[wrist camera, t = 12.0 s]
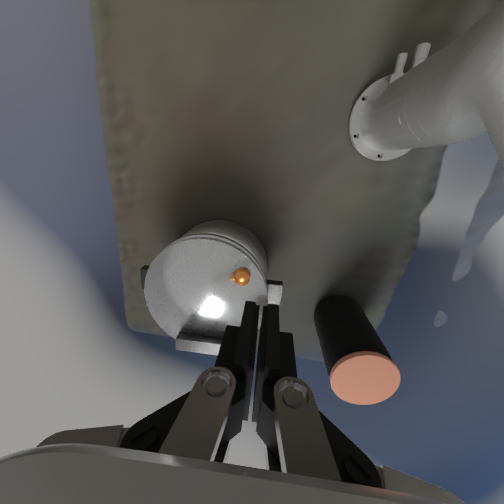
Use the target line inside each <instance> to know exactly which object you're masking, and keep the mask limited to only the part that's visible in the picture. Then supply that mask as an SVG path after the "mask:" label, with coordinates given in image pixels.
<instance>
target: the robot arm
mask: <svg viewBox="0 0 504 504" xmlns="http://www.w3.org/2000/svg"><path fill="white" fill-rule="evenodd" d="M430 47H431V44H430V43H421V44H418V45H416V47H415V50H414V54H413V58H412V64H411V68H410V70H409V71H408V72H406V73H403V70H404V66H405V64H406V61H407V57H408V53H400V54H398V55H397V59H396V63H395V69H394V73H392V74H391V75H389V76H386V77H383V78H381V79H379V80H377V81H375V82H374V83H372V84H371V85H370V86H369V87H367V88H366V89H365V90H364V91H363V92H362V94H361V95H360V96H359V97H358V99H357V100H356V102H355V104H354V106H353V108H352V111H351V113H350V118H349V127H348V130H349V137H350V140H351V142H352V145H353V146H354V148H355V149H356V150H357V151H358V152H359V154H361V155H362V156H364V157H365V158H368V159H370V160H375V161H387V160H392V159H395V158H398V157H400V156H402V155H404V154H406V153H407V152H408V151H410V150H411V149H412V148H422V147H431V146H441V145H449V144H456V143H460V142H464V141H467V140H469V139H472V138H474V137H477V136H479V135H481V134H482V133H484V132H485V131H487V133H488V135H489V137H490V140H491V142H492V144H493V145H494V147H495V149H496V152H497V154H498V157H499V159H500V162H501V164H502V167H503V169H504V0H501V1H500V2H499V3H498V4H496V5H495V6H494V7H493V8H492V9H491V10H490V11H489V12H488V13H487V14H486V15H485V16H484V17H482V18H481V19H480V20H479V21H478V22H477V23H475V24H474V25H473V26H472V27H471V28H469V29H468V30H467V31H465V32H464V33H463V34H461V35H460V36H458V37H457V38H456V39H454V40H453V41H452V42H450V43H449V44H448V45H446V46H445V47H443V48H442V49H440V50H439V51H437V52H436V53H434V54H433V55H431V56H430V57H429V58H428V54H429V51H430ZM362 98H364V101H362ZM354 135H356V138H354ZM378 154H379V157H378ZM259 310H260V305H256V302H253V301H245V306H244V311H243V316H242V321H241V326H232V325H227V326H226V329H225V332H224V335H223V339H222V342H221V346H220V349H219V353H218V356H217V360H216V363H215V367H212V368H209V369H206V370H205V371H204V372H203V373H201V375H200V376H199V377H198V379H197V381H196V383H195V385H194V387H193V388H192V390H191V391H190V392H188V393H186V394H185V395H183V396H181V397H179V398H178V399H176V400H174V401H172V402H171V403H169V404H167V405H166V406H164V407H162V408H161V409H159V410H157V411H155V412H154V413H152V414H150V415H148V416H147V417H145V418H143V419H142V420H140V421H138V422H137V423H136V424H134V425H133V426H132V427H130V428H124V426H123V425H117V426H106V427H96V428H86V429H76V430H66V431H61V432H58V433H55V434H53V435H51V436H49V437H48V438H46V439H45V440H43V441H42V442H41V443H40V444H39V445H38V446H37V447H35V448H30V449H26V450H23V451H19V452H16V453H13V454H10V455H7V456H4V457H1V458H0V504H465V503H464V502H463V501H461V500H460V499H459V498H458V497H457V496H456V495H454V494H452V493H451V492H449V491H447V490H445V489H443V488H440V487H437V486H435V485H433V484H430V483H428V482H425V481H423V480H420V479H417V478H415V477H412V476H410V475H408V474H405V473H403V472H400V471H398V470H395V469H393V468H390V467H388V466H385V465H383V464H382V465H381V467H378V466H376V465H374V464H373V462H372V461H371V460H370V459H369V458H368V457H367V456H366V455H365V454H364V453H363V452H362V451H361V450H360V449H359V448H358V447H357V446H356V445H355V444H354V443H353V442H352V441H351V440H349V439H348V438H347V437H346V436H345V435H344V434H343V433H342V432H341V431H340V430H339V429H338V428H337V427H336V426H335V425H334V424H333V423H332V422H330V421H329V420H328V419H327V418H326V417H325V416H324V415H323V414H322V413H321V412H320V411H319V410H318V408H317V405H316V402H315V399H314V396H313V393H312V391H311V389H310V387H309V386H308V385H307V384H306V383H305V382H303V381H302V380H301V379H298V378H297V371H296V362H295V353H294V344H293V335H292V333H287V332H280V331H279V305H278V304H269V303H268V305H267V306H263V312H262V320H261V328H260V336H259V344H258V354H257V365H256V379H255V389H254V401H253V414H252V422H257V427H256V428H257V429H256V432H257V434H258V435H259V436H260V438H261V439H262V440H263V441H264V443H265V448H264V450H265V460H266V470H265V469H257V468H252V467H245V466H239V465H233V464H226V463H225V461H226V458H227V454H228V450H229V447H230V443H231V439H232V438H233V437H234V436H235V435H237V434H238V433H239V432H240V431H241V427H242V420H245V421H248V413H249V404H250V396H251V388H252V380H253V371H254V362H255V352H256V342H257V331H258V320H259Z"/></svg>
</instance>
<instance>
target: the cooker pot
mask: <svg viewBox="0 0 504 504" xmlns="http://www.w3.org/2000/svg"><path fill="white" fill-rule="evenodd" d="M192 237H210V238H216V239H220V240H223V241H226V242H228V243H231V244H233V245H235V246H236V247H238V248H240V249H241V250H243V251H244V252H245V253H246V254H248V255H249V256H250V257H251V258H252V259H253V260H254V262H255V263H256V264H257V266H258V267H259V269H260V270H261V272H262V274H263V276H264V279H265V281H266V285H267V290H268V303H269V304H278V305H280V301H281V294H282V287H283V283H282V281H273V280H266V277H267V257H266V253H265V251H264V248H263V246H262V244H261V242H260V241H259V240H258V238H257V237H256V236H255V235H254V234H253V233H252V232H251V231H250V230H248V229H247V228H245V227H244V226H242V225H240V224H238V223H235V222H232V221H227V220H210V221H206V222H203V223H200V224H198V225H197V226H195V227H193V228H192V229H191V230H190V231H188V232H187V233H186V234H185V235H183V236H182V237H181V238H179V239H177V240H175V241H173V242H172V243H171V244H169V245H168V246H167V247H169V246H170V245H172V244H174V243H176V242H178V241H181V240H183V239H188V238H192ZM167 247H165V248H164V249H163V250H165V249H166V248H167ZM163 250H162V251H163ZM162 251H161V252H162ZM161 252H160V253H161ZM149 267H150V266H146V265H145V266H143V267H142V268H141V269H140V272H141V283H142V289H144V284H145V277H146V274H147V271H148V269H149Z"/></svg>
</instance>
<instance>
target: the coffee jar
mask: <svg viewBox="0 0 504 504" xmlns="http://www.w3.org/2000/svg"><path fill="white" fill-rule="evenodd" d="M314 322H315V326H316V330H317V334H318V338H319V342H320V346H321V349H322V353H323V357H324V361H325V365H326V369H327V373H328V375H329V377H330V382H331V388H332V389H333V391H334V392H335V394H336V395H337V396H338V397H340V398H341V399H342V400H344V401H347V402H349V403H352V404H359V405H367V404H374V403H378V402H381V401H383V400H385V399H387V398H389V397H390V396H391V395H392V394H393V393H394V392H395V391H396V390H397V389H398V386H399V384H400V372H399V370H398V368H397V366H396V365H395V364H394V362H393V361H392V359H391V357H390V355H389V353H388V351H387V350H386V348H385V346H384V345H383V343H382V341H381V340H380V338H379V336H378V335H377V333H376V331H375V330H374V328H373V326H372V325H371V323H370V321H369V320H368V318H367V316H366V315H365V313H364V312H363V310H362V308H361V307H360V305H359V304H358V303H357V302H356V301H355V300H353V299H351V298H348V297H346V296H333V297H329V298H327V299H325V300H324V301H322V302H321V303H320V304H319V305H318V307H317V308H316V310H315V313H314Z"/></svg>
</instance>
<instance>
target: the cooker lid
mask: <svg viewBox="0 0 504 504" xmlns="http://www.w3.org/2000/svg"><path fill="white" fill-rule="evenodd" d="M144 293H145V299H146V303H147V306H148V308H149V311H150V313H151V315H152V316H153V318H154V320H155V321H156V322H157V324H158V325H159V326H160V327H161V328H162V329H163V330H164V331H165V332H166V333H167V334H169V335H170V336H171V337H173V338H174V339H176V350H182V351H189V352H197V353H204V354H211V355H218V353H219V349H220V346H221V342H222V339H223V335H224V332H225V329H226V326H227V325H232V326H241V321H242V316H243V311H244V306H245V301H253V302H256V305H260V310H259V320H258V329H259V328H260V326H261V320H262V312H263V306H267V305H268V290H267V285H266V281H265V279H264V276H263V274H262V272H261V270H260V269H259V267H258V266H257V264H256V263H255V262H254V260H253V259H252V258H251V257H250V256H249V255H248V254H246V253H245V252H244V251H243V250H241V249H240V248H238V247H236V246H235V245H233V244H231V243H228V242H226V241H223V240H220V239H216V238H210V237H192V238H188V239H183V240H181V241H178V242H176V243H174V244H172V245H170V246H169V247H167V248H166V249H165V250H163V251H162V252H161V253H160V254H159V255H158V256H157V257H156V258H155V259H154V260H153V262H152V263H151V265H150V267H149V269H148V271H147V274H146V277H145V284H144Z"/></svg>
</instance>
